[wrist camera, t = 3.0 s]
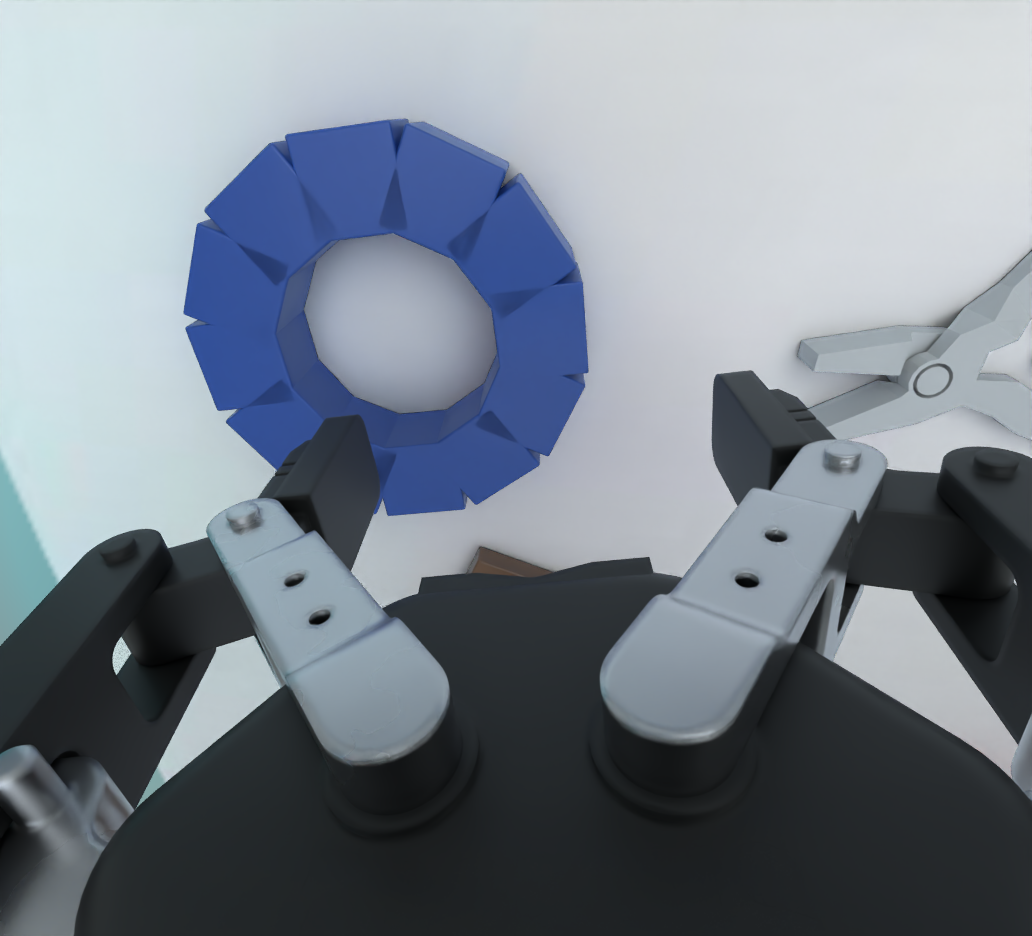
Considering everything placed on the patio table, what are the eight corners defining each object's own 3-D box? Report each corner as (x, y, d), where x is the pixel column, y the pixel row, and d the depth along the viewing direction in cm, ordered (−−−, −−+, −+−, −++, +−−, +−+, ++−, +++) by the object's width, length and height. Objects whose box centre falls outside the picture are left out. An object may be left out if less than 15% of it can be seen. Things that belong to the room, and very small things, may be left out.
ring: (266, 46, 18) (224, 36, 15) (645, 226, 20) (660, 242, 18) (201, 406, 24) (162, 440, 21) (499, 515, 26) (496, 557, 23)
